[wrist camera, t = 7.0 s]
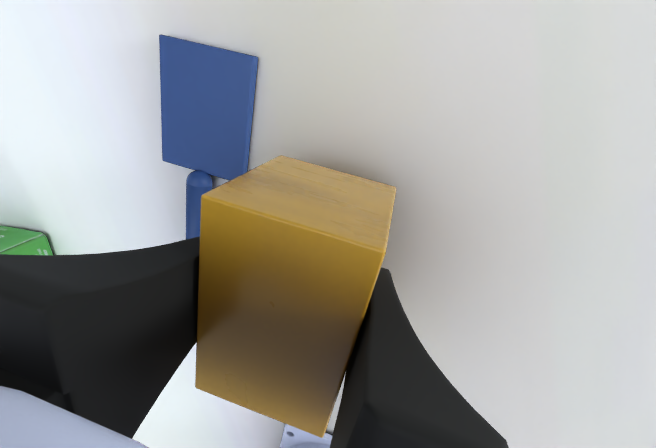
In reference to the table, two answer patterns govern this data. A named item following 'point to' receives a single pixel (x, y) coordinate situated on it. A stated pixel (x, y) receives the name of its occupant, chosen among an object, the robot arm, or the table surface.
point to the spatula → (205, 115)
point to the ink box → (23, 242)
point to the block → (287, 286)
